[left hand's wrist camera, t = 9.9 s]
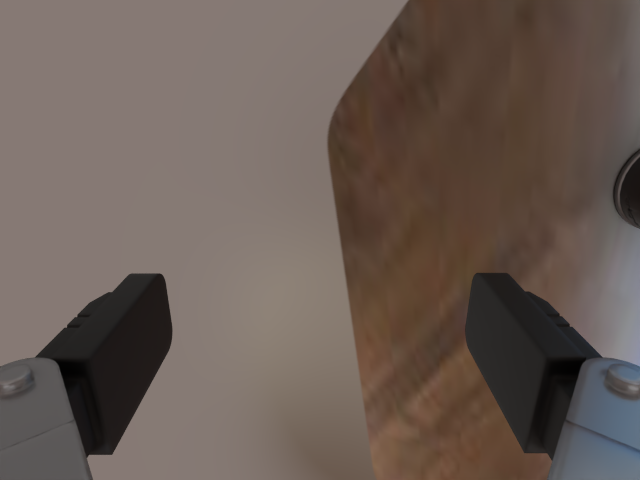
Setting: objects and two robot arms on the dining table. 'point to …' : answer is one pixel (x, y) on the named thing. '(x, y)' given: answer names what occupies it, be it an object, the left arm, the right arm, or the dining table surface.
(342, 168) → the dining table surface
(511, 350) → the left robot arm
